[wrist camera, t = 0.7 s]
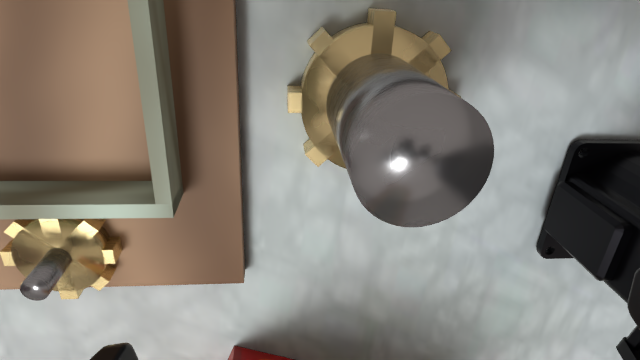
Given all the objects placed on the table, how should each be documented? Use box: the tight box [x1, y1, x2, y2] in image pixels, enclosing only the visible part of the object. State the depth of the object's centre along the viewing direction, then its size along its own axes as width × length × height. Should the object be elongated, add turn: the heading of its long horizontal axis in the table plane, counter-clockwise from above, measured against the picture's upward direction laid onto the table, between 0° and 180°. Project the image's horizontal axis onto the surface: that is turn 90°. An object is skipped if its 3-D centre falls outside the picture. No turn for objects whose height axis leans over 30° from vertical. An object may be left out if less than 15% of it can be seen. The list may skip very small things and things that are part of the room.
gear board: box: [0, 0, 245, 289], centre depth 16 cm, size 15×16×3 cm
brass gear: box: [287, 8, 494, 227], centre depth 15 cm, size 7×7×7 cm
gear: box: [0, 218, 123, 300], centre depth 17 cm, size 4×4×3 cm
